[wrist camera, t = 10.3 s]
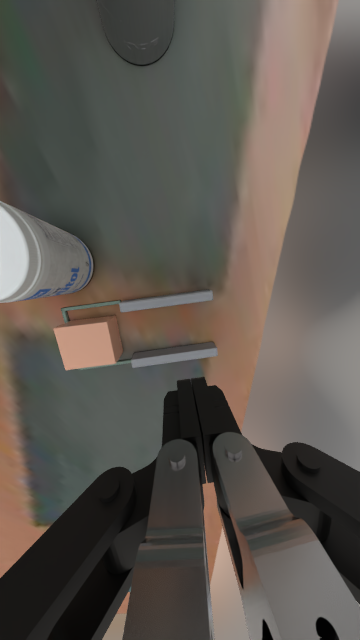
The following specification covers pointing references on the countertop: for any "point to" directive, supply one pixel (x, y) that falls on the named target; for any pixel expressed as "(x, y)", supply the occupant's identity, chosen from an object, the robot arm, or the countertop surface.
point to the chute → (174, 352)
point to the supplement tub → (39, 258)
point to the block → (89, 342)
